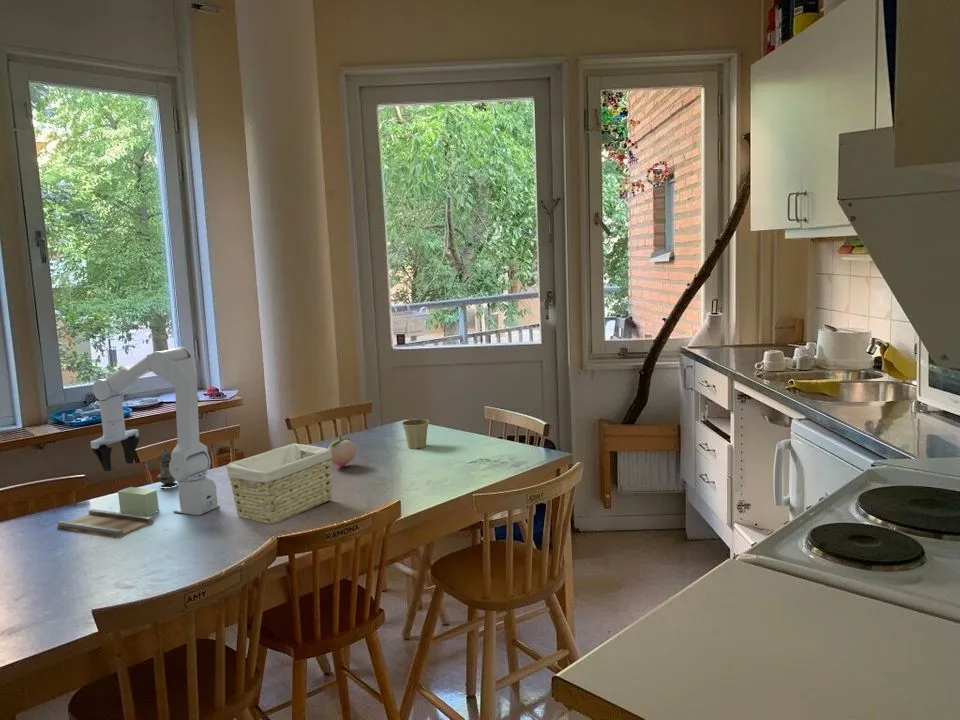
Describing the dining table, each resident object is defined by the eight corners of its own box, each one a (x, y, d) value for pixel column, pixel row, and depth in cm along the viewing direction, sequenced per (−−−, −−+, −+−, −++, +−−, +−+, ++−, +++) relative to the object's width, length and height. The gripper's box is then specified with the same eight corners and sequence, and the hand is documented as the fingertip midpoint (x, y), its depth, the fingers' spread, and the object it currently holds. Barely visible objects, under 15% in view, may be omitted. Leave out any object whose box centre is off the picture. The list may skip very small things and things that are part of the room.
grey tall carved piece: (172, 489, 231) (167, 450, 229) (154, 489, 232) (149, 450, 230) (183, 483, 236) (179, 444, 235) (166, 483, 238) (161, 444, 236)
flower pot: (429, 449, 262) (428, 424, 260) (401, 450, 262) (400, 425, 261) (431, 442, 271) (430, 418, 270) (404, 443, 271) (403, 419, 270)
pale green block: (159, 511, 212) (156, 490, 211) (147, 516, 208) (144, 494, 207) (132, 507, 216) (129, 486, 215) (120, 512, 212) (117, 491, 212)
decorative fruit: (348, 471, 240) (345, 440, 239) (324, 470, 243) (322, 439, 241) (362, 463, 249) (359, 433, 247) (339, 462, 252) (337, 432, 250)
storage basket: (269, 528, 195) (264, 471, 192) (228, 517, 204) (223, 463, 202) (338, 500, 214) (334, 448, 212) (298, 491, 223) (294, 441, 221)
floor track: (153, 522, 203) (152, 517, 202) (118, 537, 193) (117, 531, 193) (94, 513, 212) (93, 508, 212) (57, 528, 202) (56, 522, 202)
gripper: (124, 413, 227) (129, 458, 229) (80, 425, 214) (86, 473, 216) (141, 414, 224) (147, 460, 226) (98, 426, 211) (104, 475, 213)
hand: (118, 466), depth 221 cm, fingers open, 7 cm apart
